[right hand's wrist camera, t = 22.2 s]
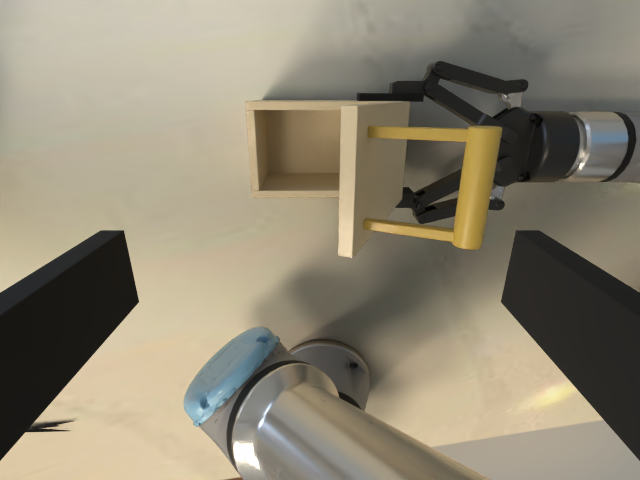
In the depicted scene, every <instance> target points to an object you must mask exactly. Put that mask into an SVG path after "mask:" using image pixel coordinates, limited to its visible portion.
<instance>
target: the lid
mask: <svg viewBox="0 0 640 480" xmlns="http://www.w3.org/2000/svg"><path fill="white" fill-rule="evenodd" d="M409 111H410V101H399V102H384V103H369V104H354V105H342V106H341V138H340V188H339V238H338V256H343V257H349V258H353V257H354V255H355V254H356V253H357V252H358V251H359V250H360V248H361V247H362V246H363V245H364V244H365V242H366V241H367V240H368V239H369V238H370V237H371V235H372V234H373V233H374V232H375V231H379V232H386V233H393V234H400V235H407V236H415V237H422V238H429V239H436V240H443V241H450V242H452V244H453V245H454V246H456V247H459V248H462V249H469V250H474V249H479V248H481V246H482V241H483V236H484V230H485V224H486V219H487V213H488V208H489V202H490V196H491V191H492V185H493V179H494V174H495V168H496V163H497V157H498V151H499V146H500V140H501V134H502V127H497V126H469V127H468V129H465V128H433V127H408V123H409ZM407 139H412V140H435V141H457V142H466V146H465V153H464V160H463V166H462V173H461V180H460V187H459V194H458V201H457V208H456V215H455V222H454V229H449V228H442V227H434V226H426V225H418V224H411V223H403V222H395V221H387V220H385V219H386V218H387V216H388V215H389V214H390V213H391V212H392V211H393V209H394V208H395V207H396V206H397V205H398V203H399V202H400V201H401V200H402V193H403V182H404V170H405V158H406V146H407Z"/></svg>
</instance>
